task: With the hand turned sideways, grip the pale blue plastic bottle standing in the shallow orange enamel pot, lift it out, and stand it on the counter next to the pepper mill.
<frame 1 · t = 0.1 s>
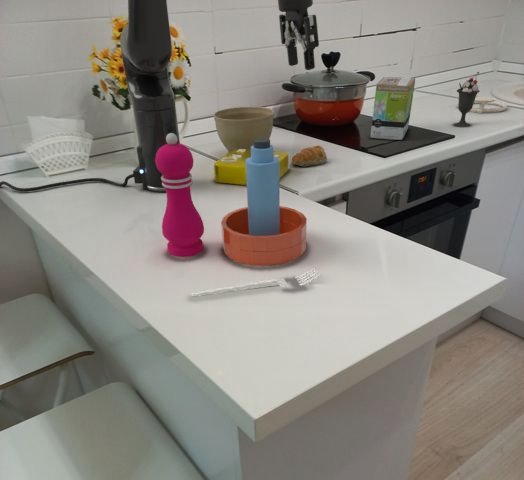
hand: (301, 67, 117), 22 cm above the worktop, tool pointing down, fingers open, 8 cm apart
pepper mill: (186, 253, 89), on the worktop
sundae: (461, 125, 161), on the worktop
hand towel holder: (481, 109, 179), on the worktop
bottle: (264, 246, 89), point 1 cm above the worktop, touching pot
pot: (264, 249, 89), on the worktop
pastry: (309, 163, 131), on the worktop
element tile: (252, 176, 124), on the worktop
planter bowl: (245, 155, 140), on the worktop
tea box: (389, 134, 154), on the worktop
fork: (256, 290, 78), on the worktop
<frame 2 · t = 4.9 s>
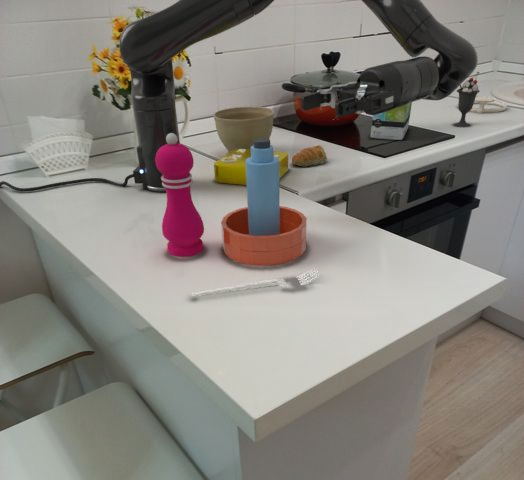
hand: (318, 106, 82), 22 cm above the worktop, tool horizontal, fingers open, 8 cm apart
nothing on the worktop moved.
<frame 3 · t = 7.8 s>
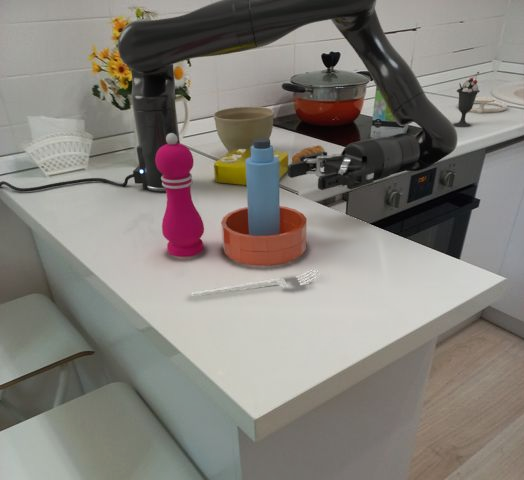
hand: (303, 177, 86), 11 cm above the worktop, tool horizontal, fingers open, 8 cm apart
nothing on the worktop moved.
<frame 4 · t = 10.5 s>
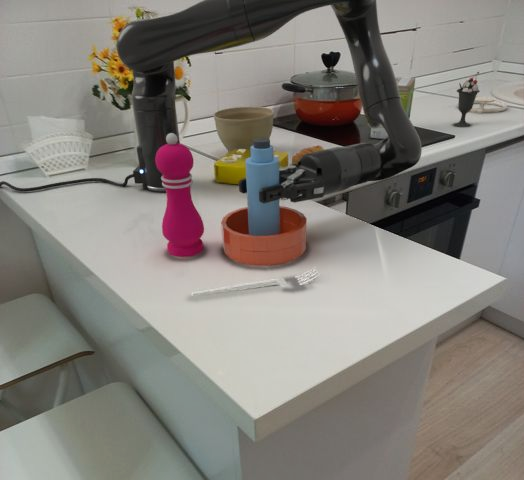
hand: (250, 191, 81), 11 cm above the worktop, tool horizontal, fingers closed on bottle, 5 cm apart
bottle: (264, 246, 89), point 1 cm above the worktop, touching gripper, pot
everything else where it was.
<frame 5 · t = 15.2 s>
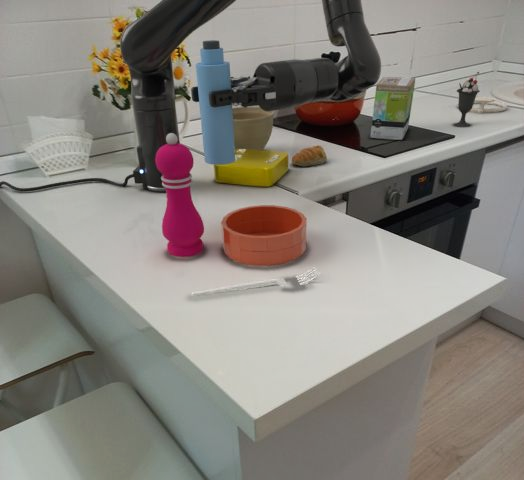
hand: (201, 97, 81), 24 cm above the worktop, tool horizontal, fingers closed on bottle, 5 cm apart
bottle: (220, 160, 88), point 13 cm above the worktop, touching gripper
everything else where it was.
when the fingers open (10 cm above the worktop, at t = 19.8 s): bottle stays where it is, on the worktop.
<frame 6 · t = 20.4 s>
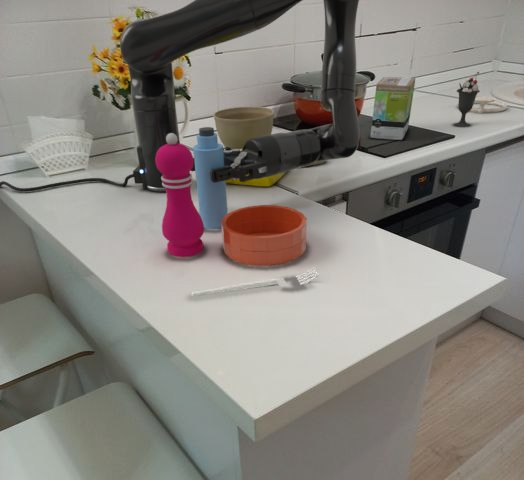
hand: (199, 170, 91), 11 cm above the worktop, tool horizontal, fingers open, 8 cm apart
bottle: (214, 226, 99), on the worktop
everything else where it was.
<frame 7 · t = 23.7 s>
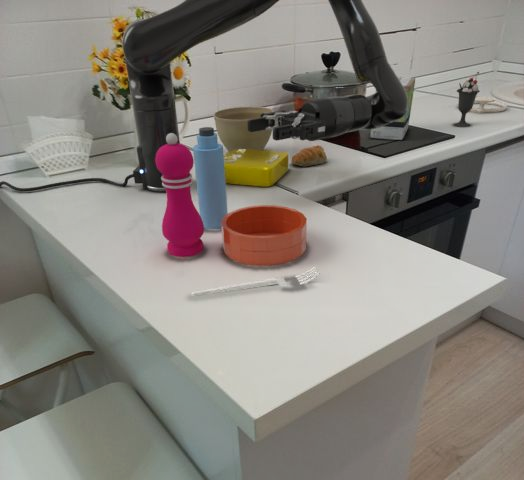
hand: (260, 130, 95), 16 cm above the worktop, tool horizontal, fingers open, 8 cm apart
nothing on the worktop moved.
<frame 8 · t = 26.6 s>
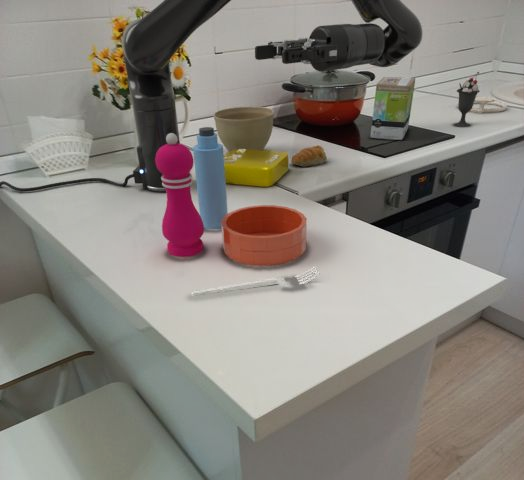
hand: (269, 54, 90), 28 cm above the worktop, tool horizontal, fingers open, 8 cm apart
nothing on the worktop moved.
at the end: bottle inside the target area (0.1 cm from its centre), on the worktop; bottle tilted 0°; bottle 12.5 cm from the pepper mill (horizontally) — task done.
